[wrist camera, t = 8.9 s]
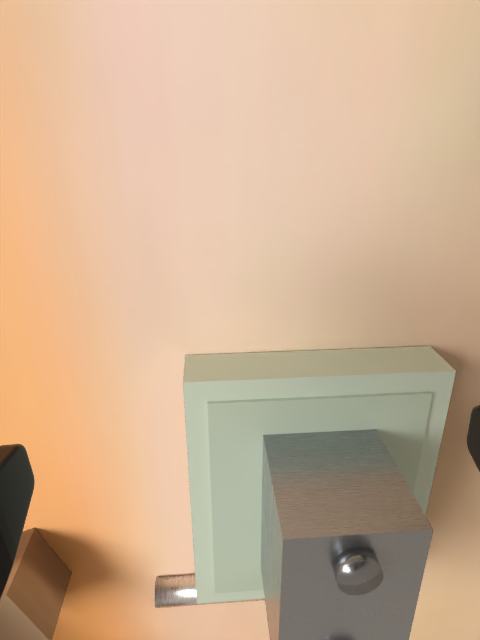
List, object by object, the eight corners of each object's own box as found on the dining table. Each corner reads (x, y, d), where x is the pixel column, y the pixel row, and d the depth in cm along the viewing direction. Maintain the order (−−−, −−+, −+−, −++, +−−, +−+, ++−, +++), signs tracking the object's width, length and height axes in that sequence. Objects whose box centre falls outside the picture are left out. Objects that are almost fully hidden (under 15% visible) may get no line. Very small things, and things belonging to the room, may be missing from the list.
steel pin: (270, 569, 28) (272, 568, 27) (272, 598, 28) (275, 599, 26) (158, 577, 28) (155, 576, 27) (157, 607, 27) (154, 608, 26)
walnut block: (35, 526, 25) (6, 594, 21) (72, 571, 27) (51, 642, 23) (-28, 549, 25) (-68, 621, 22) (11, 592, 27) (-19, 665, 23)
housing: (376, 429, 21) (441, 544, 15) (357, 559, 24) (406, 694, 18) (262, 434, 20) (285, 555, 15) (260, 566, 24) (278, 706, 18)
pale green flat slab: (430, 345, 22) (458, 373, 20) (393, 549, 28) (411, 591, 25) (185, 355, 21) (182, 384, 19) (197, 563, 27) (197, 607, 24)
